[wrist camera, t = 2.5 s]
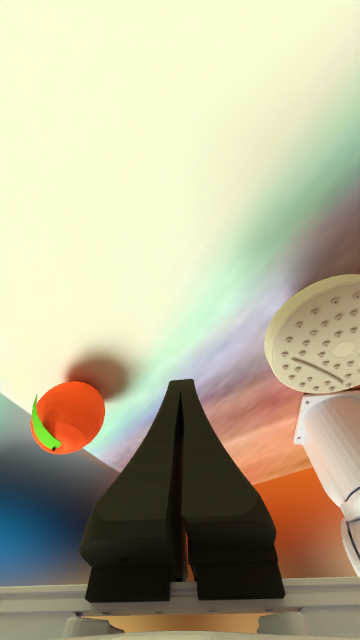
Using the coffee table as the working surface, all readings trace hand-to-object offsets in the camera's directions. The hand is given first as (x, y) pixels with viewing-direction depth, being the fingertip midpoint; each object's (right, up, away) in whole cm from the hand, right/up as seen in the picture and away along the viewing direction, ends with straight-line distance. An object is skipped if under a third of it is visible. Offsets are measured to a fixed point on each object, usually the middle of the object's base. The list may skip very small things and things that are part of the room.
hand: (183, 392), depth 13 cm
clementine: (-12, -4, +13) cm, 18 cm away
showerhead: (+11, +6, +8) cm, 15 cm away
